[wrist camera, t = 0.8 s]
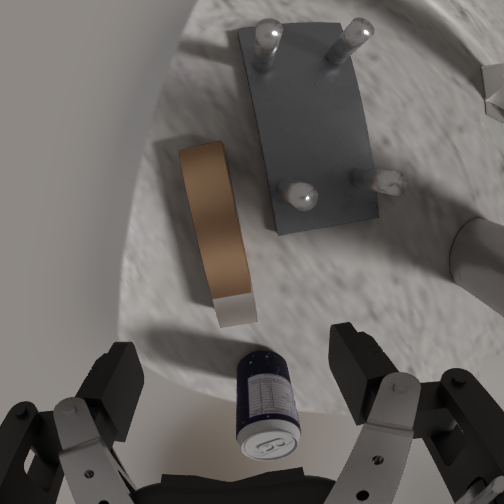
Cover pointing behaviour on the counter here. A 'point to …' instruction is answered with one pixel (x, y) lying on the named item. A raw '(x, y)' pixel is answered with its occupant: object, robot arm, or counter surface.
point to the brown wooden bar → (219, 232)
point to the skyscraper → (494, 90)
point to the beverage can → (266, 408)
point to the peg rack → (313, 123)
